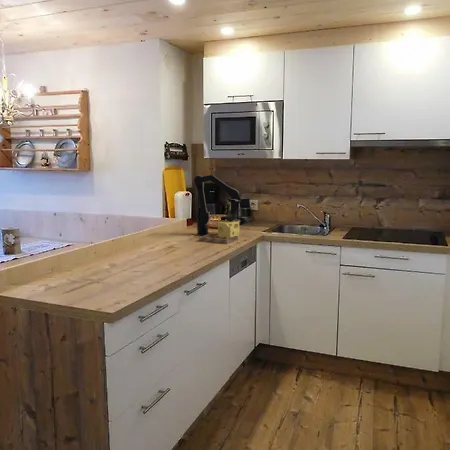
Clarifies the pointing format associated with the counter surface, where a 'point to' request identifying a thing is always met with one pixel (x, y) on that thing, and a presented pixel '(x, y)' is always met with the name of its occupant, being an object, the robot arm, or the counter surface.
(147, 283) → the counter surface
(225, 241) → the bay
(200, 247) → the counter surface
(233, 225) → the cheese
